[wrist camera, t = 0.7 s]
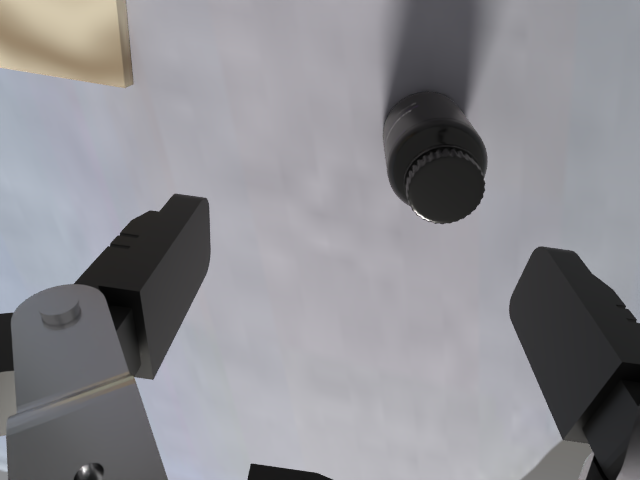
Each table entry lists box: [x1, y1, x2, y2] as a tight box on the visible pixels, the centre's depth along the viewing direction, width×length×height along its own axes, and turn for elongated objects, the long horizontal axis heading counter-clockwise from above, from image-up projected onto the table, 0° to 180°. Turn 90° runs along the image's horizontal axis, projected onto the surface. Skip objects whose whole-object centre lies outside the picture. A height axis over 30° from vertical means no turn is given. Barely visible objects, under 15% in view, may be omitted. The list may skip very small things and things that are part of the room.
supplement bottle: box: [383, 92, 487, 224], centre depth 31 cm, size 7×7×12 cm
